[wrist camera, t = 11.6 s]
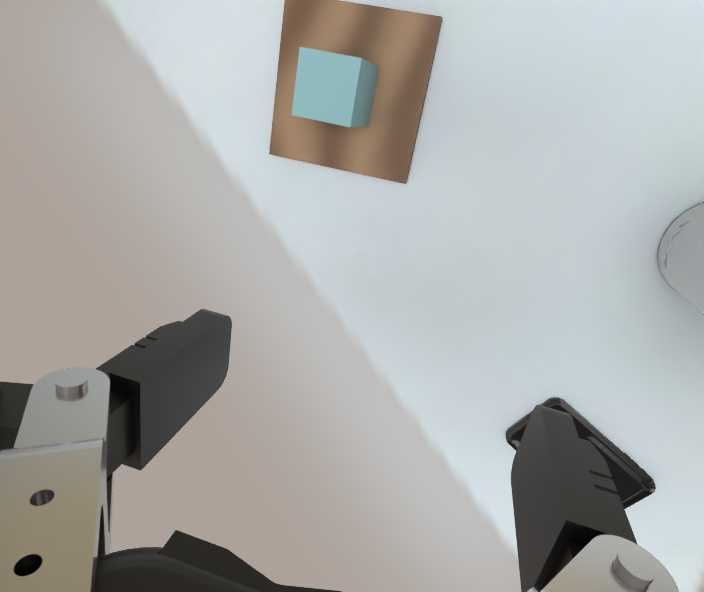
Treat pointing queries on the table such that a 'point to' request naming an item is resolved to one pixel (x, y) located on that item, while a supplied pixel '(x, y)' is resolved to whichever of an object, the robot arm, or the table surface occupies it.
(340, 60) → the teal block
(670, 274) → the robot arm
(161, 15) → the table surface
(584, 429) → the phone
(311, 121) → the walnut board
